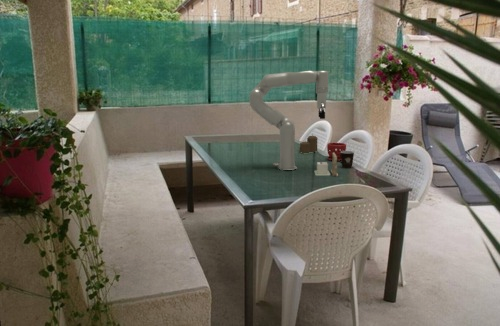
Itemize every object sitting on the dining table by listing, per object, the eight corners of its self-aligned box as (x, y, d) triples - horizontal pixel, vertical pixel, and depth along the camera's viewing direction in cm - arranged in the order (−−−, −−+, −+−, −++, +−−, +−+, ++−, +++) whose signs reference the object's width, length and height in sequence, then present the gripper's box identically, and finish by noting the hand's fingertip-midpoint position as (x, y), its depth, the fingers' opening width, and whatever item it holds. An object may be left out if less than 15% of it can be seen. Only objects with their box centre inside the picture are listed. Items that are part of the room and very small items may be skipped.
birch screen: (333, 176, 258) (333, 156, 255) (330, 171, 270) (331, 152, 268) (338, 176, 257) (338, 156, 255) (335, 171, 270) (335, 152, 267)
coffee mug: (355, 166, 282) (355, 151, 280) (351, 168, 275) (351, 153, 272) (338, 164, 288) (338, 150, 286) (334, 167, 280) (334, 152, 278)
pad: (315, 175, 259) (315, 174, 259) (314, 171, 270) (314, 170, 270) (330, 175, 259) (330, 174, 259) (328, 171, 269) (328, 170, 269)
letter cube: (317, 173, 262) (317, 164, 260) (316, 171, 268) (317, 161, 266) (328, 173, 261) (328, 163, 260) (327, 171, 267) (327, 161, 266)
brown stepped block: (316, 150, 339) (316, 132, 335) (318, 154, 325) (318, 134, 322) (299, 150, 339) (299, 132, 336) (300, 154, 326) (300, 135, 323)
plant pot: (346, 162, 295) (346, 145, 292) (326, 161, 297) (327, 145, 295) (345, 158, 307) (346, 142, 305) (327, 158, 310) (327, 141, 307)
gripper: (315, 90, 275) (314, 116, 279) (317, 91, 259) (316, 119, 262) (326, 89, 275) (326, 116, 278) (329, 91, 258) (329, 119, 262)
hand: (321, 117), depth 270 cm, fingers open, 9 cm apart
